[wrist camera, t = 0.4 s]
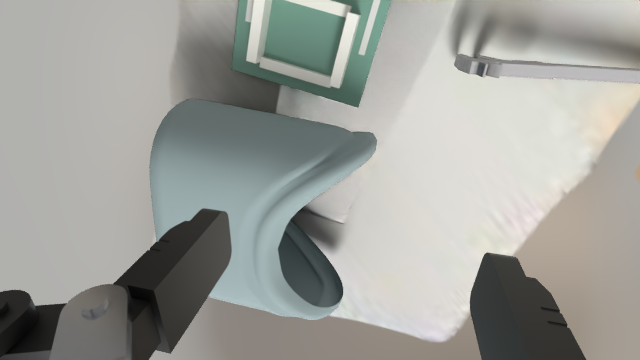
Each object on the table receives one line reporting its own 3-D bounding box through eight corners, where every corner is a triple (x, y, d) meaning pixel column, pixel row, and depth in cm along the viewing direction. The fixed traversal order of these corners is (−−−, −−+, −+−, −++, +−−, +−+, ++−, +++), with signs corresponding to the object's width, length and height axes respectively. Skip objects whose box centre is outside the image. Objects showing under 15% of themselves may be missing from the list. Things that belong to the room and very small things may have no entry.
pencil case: (215, 87, 38) (140, 118, 27) (381, 118, 36) (375, 165, 25) (217, 240, 48) (163, 309, 37) (346, 271, 46) (331, 355, 35)
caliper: (452, 64, 32) (463, 76, 26) (455, 52, 31) (466, 62, 26) (701, 85, 29) (772, 103, 23) (709, 72, 28) (783, 88, 23)
